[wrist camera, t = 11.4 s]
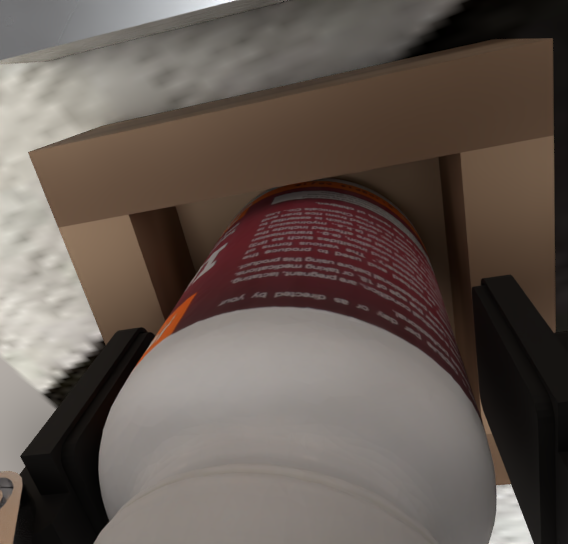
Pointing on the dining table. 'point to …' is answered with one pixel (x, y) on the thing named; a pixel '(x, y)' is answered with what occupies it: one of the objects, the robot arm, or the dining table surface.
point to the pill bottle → (302, 391)
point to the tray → (325, 164)
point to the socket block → (98, 23)
